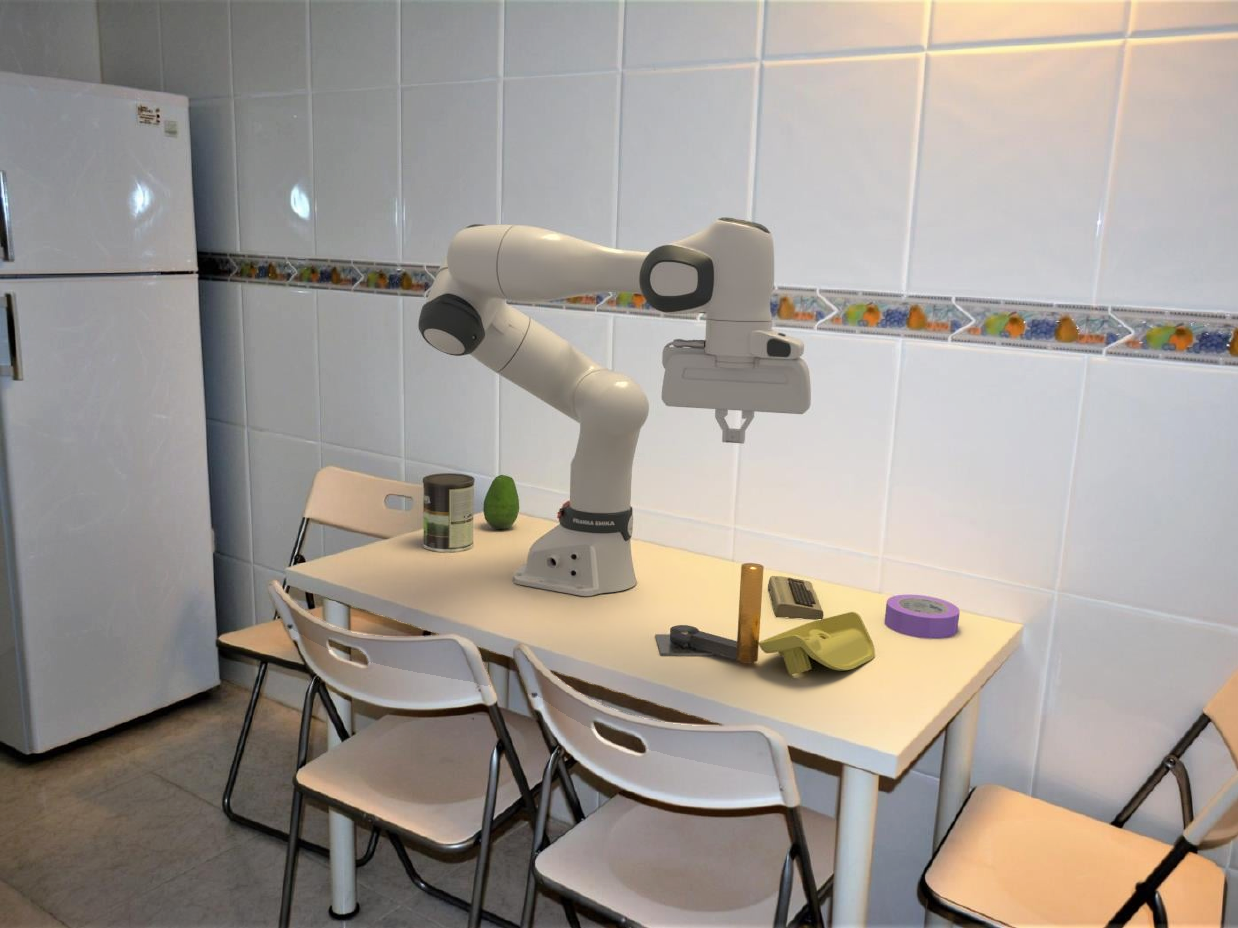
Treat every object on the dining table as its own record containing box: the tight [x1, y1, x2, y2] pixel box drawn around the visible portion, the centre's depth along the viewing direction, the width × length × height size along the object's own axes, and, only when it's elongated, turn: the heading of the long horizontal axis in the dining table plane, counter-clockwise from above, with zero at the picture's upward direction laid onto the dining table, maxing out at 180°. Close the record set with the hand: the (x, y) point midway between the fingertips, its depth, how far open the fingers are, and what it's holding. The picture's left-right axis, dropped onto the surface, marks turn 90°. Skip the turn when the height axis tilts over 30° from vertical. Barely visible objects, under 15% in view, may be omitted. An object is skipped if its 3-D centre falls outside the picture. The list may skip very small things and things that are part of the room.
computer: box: [767, 575, 824, 620], centre depth 179 cm, size 16×8×3 cm, turn 177°
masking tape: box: [884, 594, 961, 640], centre depth 169 cm, size 12×12×4 cm
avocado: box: [482, 474, 520, 530], centre depth 222 cm, size 8×8×12 cm
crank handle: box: [669, 562, 765, 664], centre depth 152 cm, size 15×4×14 cm, turn 54°
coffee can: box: [422, 472, 476, 553], centre depth 207 cm, size 10×10×14 cm
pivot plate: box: [654, 633, 715, 657], centre depth 157 cm, size 8×8×1 cm
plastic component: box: [758, 611, 876, 676], centre depth 152 cm, size 20×7×10 cm
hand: (733, 442), depth 140 cm, fingers closed
